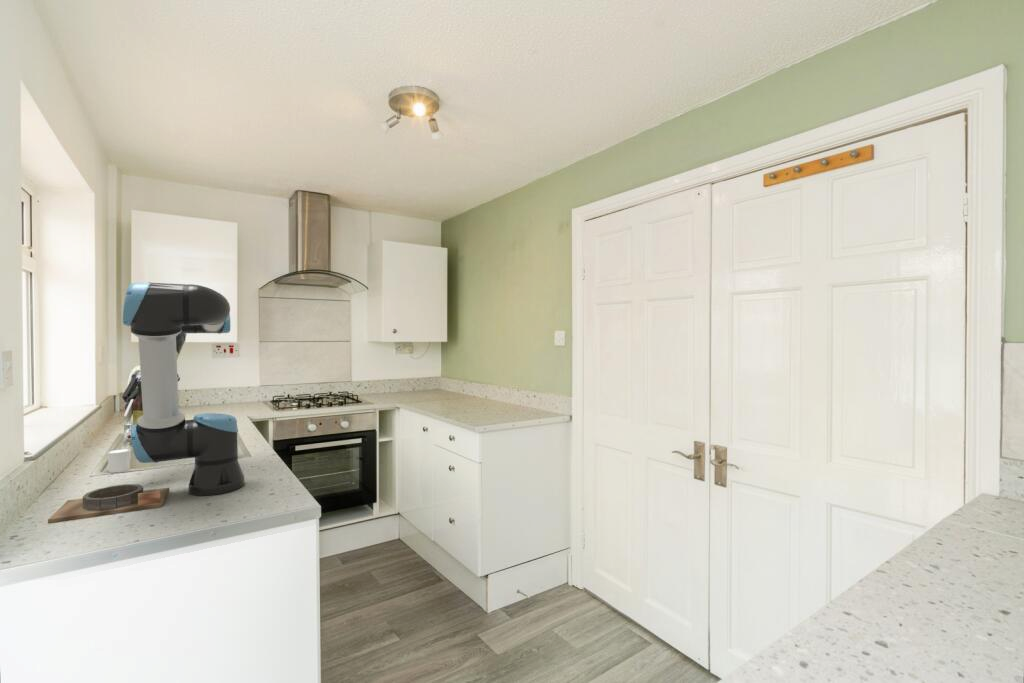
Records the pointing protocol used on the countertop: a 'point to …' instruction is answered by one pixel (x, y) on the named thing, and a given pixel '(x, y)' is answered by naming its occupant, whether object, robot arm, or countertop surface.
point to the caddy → (110, 502)
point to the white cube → (119, 460)
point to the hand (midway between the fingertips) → (139, 418)
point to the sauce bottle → (137, 404)
